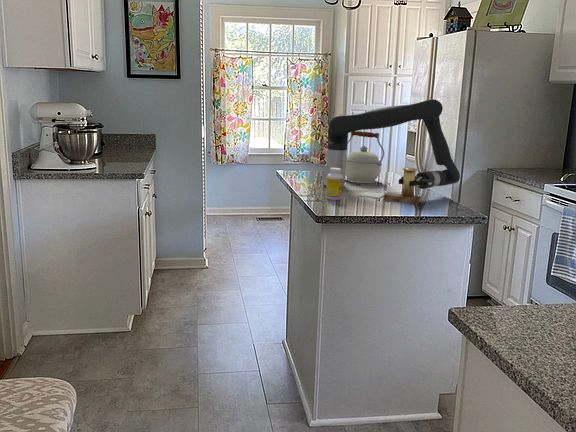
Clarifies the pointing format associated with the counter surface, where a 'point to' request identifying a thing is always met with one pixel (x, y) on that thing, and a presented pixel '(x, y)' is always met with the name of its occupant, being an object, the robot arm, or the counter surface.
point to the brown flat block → (401, 198)
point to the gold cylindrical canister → (407, 177)
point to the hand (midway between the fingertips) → (404, 182)
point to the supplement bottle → (334, 184)
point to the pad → (372, 195)
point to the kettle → (363, 162)
